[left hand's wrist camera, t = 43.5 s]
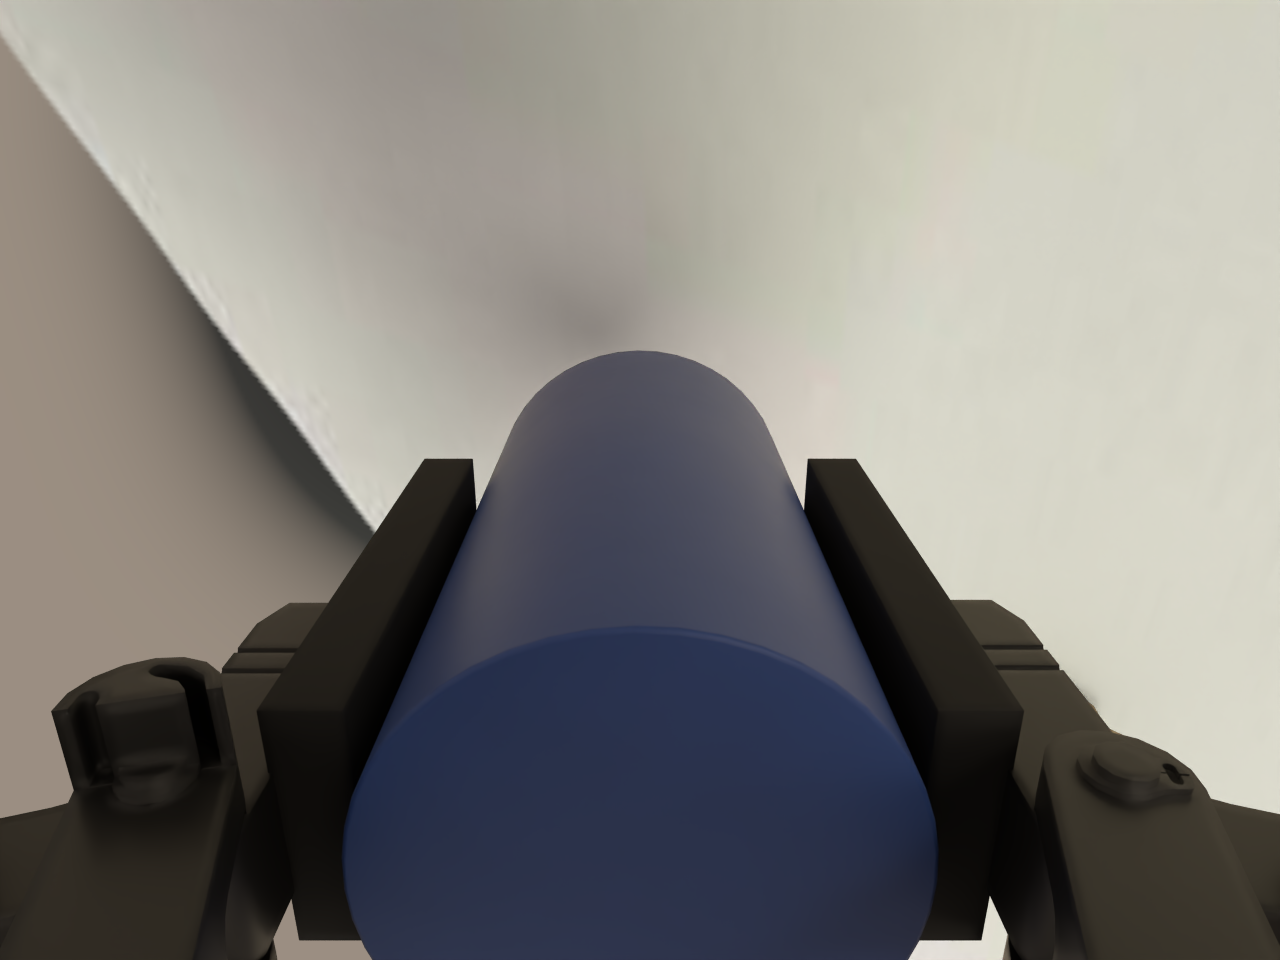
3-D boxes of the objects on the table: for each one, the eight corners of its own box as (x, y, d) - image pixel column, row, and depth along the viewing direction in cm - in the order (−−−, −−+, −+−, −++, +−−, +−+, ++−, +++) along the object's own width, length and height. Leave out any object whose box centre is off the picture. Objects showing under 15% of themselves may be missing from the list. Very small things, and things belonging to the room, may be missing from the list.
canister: (826, 412, 16) (1055, 751, 7) (712, 643, 18) (785, 1144, 9) (555, 305, 15) (441, 536, 7) (465, 557, 17) (277, 1008, 8)
